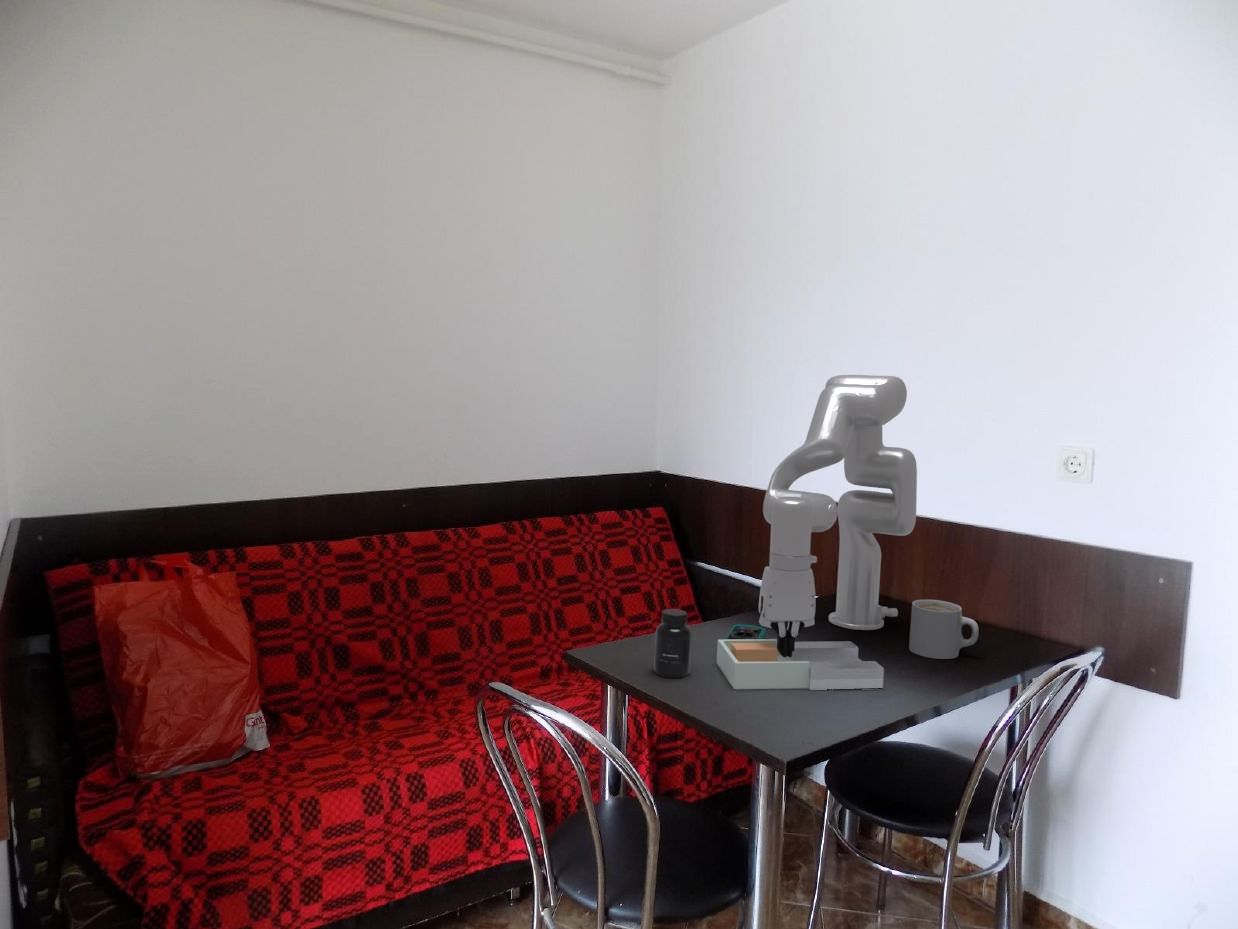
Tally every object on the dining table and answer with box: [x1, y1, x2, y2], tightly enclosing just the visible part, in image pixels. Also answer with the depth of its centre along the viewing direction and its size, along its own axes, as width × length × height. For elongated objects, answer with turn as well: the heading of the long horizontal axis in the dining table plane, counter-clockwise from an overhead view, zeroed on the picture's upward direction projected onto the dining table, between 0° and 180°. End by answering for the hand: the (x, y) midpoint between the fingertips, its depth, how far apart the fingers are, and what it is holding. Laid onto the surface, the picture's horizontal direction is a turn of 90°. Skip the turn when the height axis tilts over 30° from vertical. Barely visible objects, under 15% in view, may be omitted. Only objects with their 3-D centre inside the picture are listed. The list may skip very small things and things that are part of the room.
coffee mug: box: [908, 599, 980, 660], centre depth 178 cm, size 13×10×10 cm
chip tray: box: [716, 638, 809, 690], centre depth 161 cm, size 14×14×5 cm
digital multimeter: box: [723, 624, 767, 640], centre depth 180 cm, size 7×15×3 cm, turn 162°
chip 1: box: [731, 643, 757, 662], centre depth 161 cm, size 4×4×4 cm
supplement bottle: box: [653, 608, 692, 679], centre depth 161 cm, size 7×7×12 cm
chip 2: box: [752, 643, 778, 662], centre depth 161 cm, size 4×4×4 cm
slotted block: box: [789, 640, 885, 691], centre depth 163 cm, size 14×16×4 cm
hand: (785, 654), depth 162 cm, fingers closed
